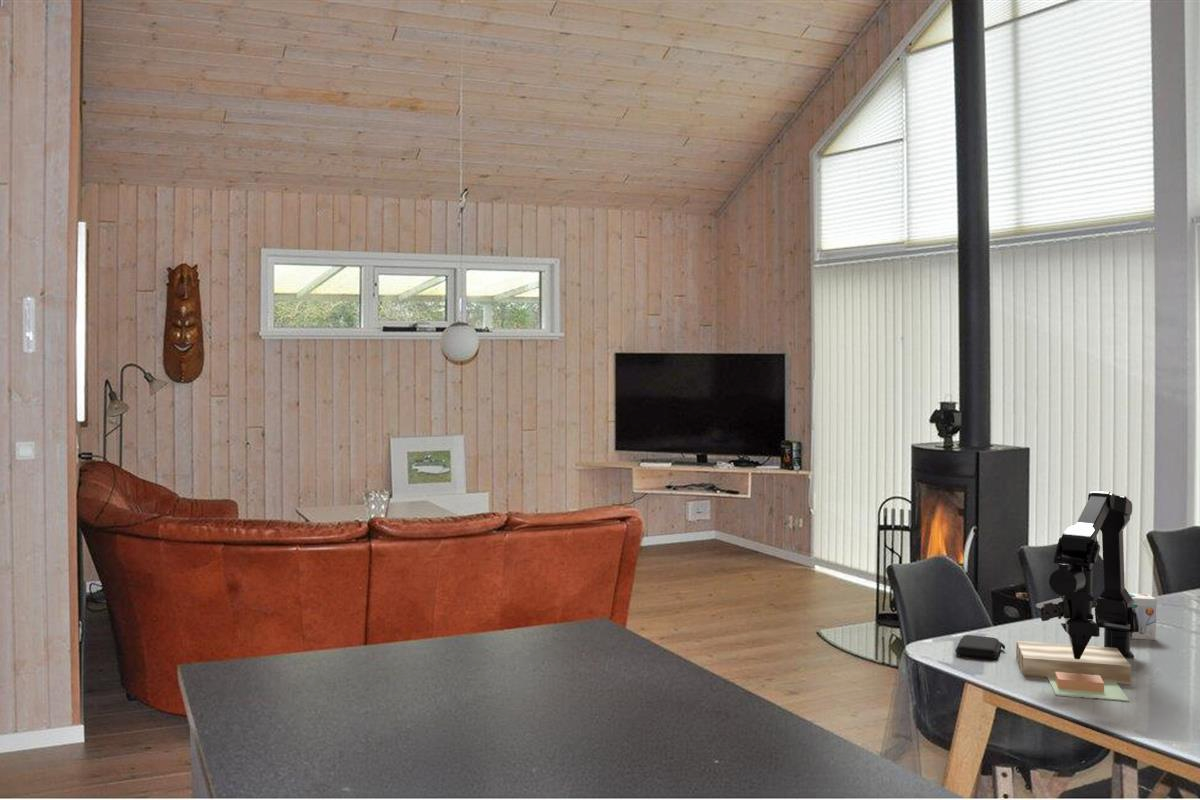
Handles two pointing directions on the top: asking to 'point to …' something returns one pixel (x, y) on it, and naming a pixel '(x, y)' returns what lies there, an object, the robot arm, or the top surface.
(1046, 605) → the robot arm
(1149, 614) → the light bulb box
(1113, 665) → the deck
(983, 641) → the carrying case or bag
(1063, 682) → the block
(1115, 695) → the mat
